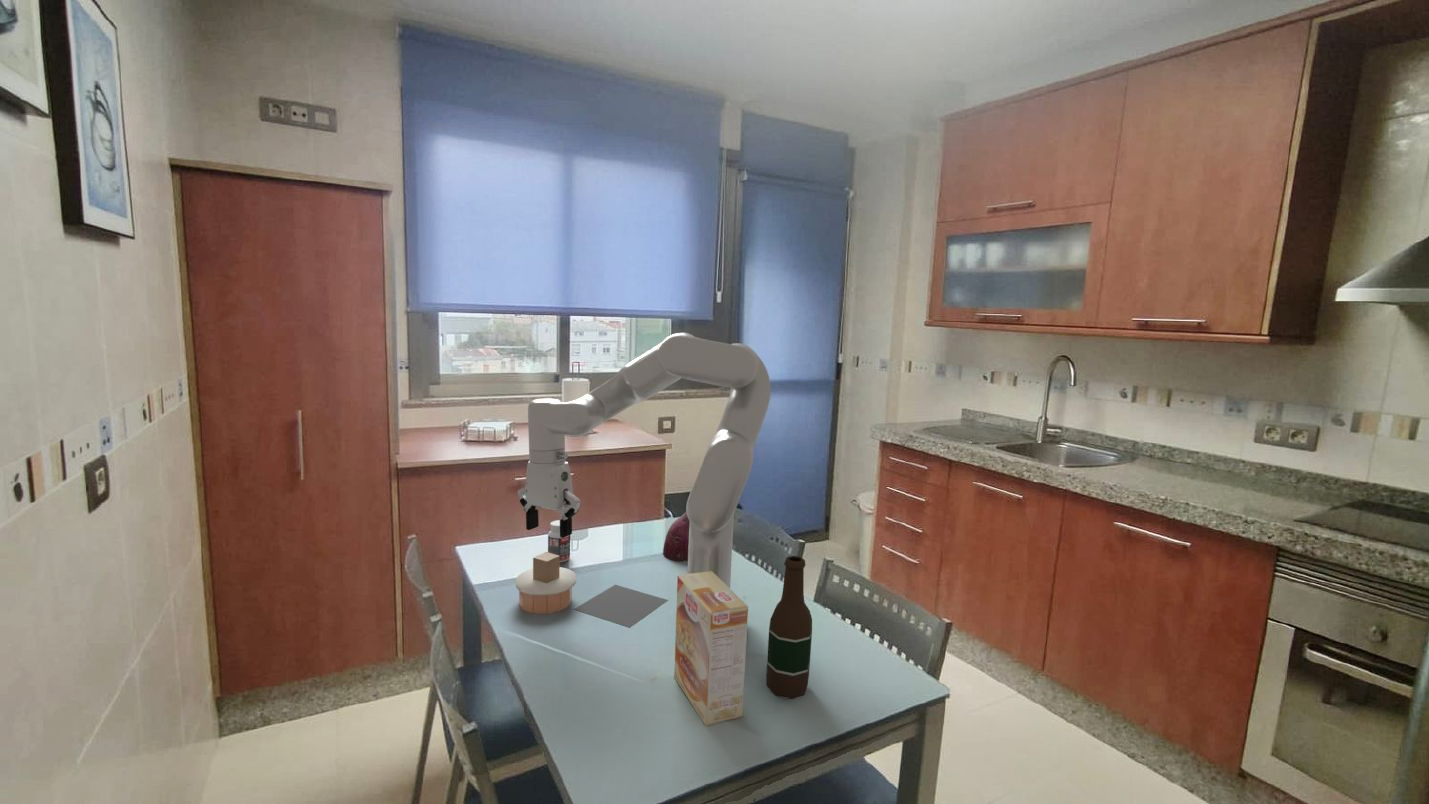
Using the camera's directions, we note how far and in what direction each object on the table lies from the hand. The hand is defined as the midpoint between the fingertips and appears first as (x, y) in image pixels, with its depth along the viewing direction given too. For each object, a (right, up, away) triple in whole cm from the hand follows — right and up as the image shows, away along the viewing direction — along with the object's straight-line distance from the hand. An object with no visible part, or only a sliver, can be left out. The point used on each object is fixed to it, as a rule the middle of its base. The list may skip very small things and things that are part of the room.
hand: (549, 532), depth 136 cm
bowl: (-1, -17, +2) cm, 17 cm away
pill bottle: (-5, -13, +28) cm, 31 cm away
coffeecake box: (+35, -23, -29) cm, 51 cm away
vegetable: (+27, -14, +35) cm, 46 cm away
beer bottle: (+49, -23, -25) cm, 60 cm away
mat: (+16, -17, +2) cm, 23 cm away
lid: (-1, -12, +2) cm, 12 cm away
